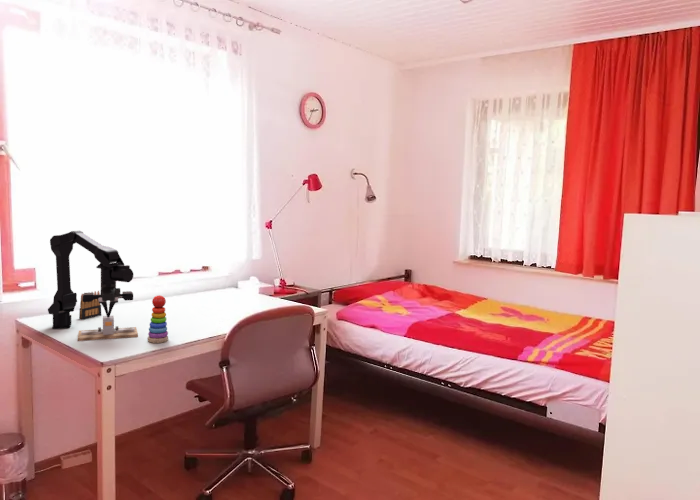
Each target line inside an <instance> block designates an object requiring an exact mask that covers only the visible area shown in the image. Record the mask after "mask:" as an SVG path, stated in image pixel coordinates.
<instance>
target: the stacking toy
mask: <svg viewBox="0 0 700 500" xmlns="http://www.w3.org/2000/svg"><path fill="white" fill-rule="evenodd" d="M151 302H152V306H153V307H152V309H151V311H152V313H151V318H150V322H149V327H148V334H147V335H148V336H147V339H146V340H147V341H148V342H149V343H151V344H162V343H165V342H167V341H168V340H169V331H168V327H167V326H168V325H167V313H166V308H165V305H166V302H167V301H166V298H165V297H164V296H162V295H156V296H154V297H153V298H152V300H151Z"/></svg>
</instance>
